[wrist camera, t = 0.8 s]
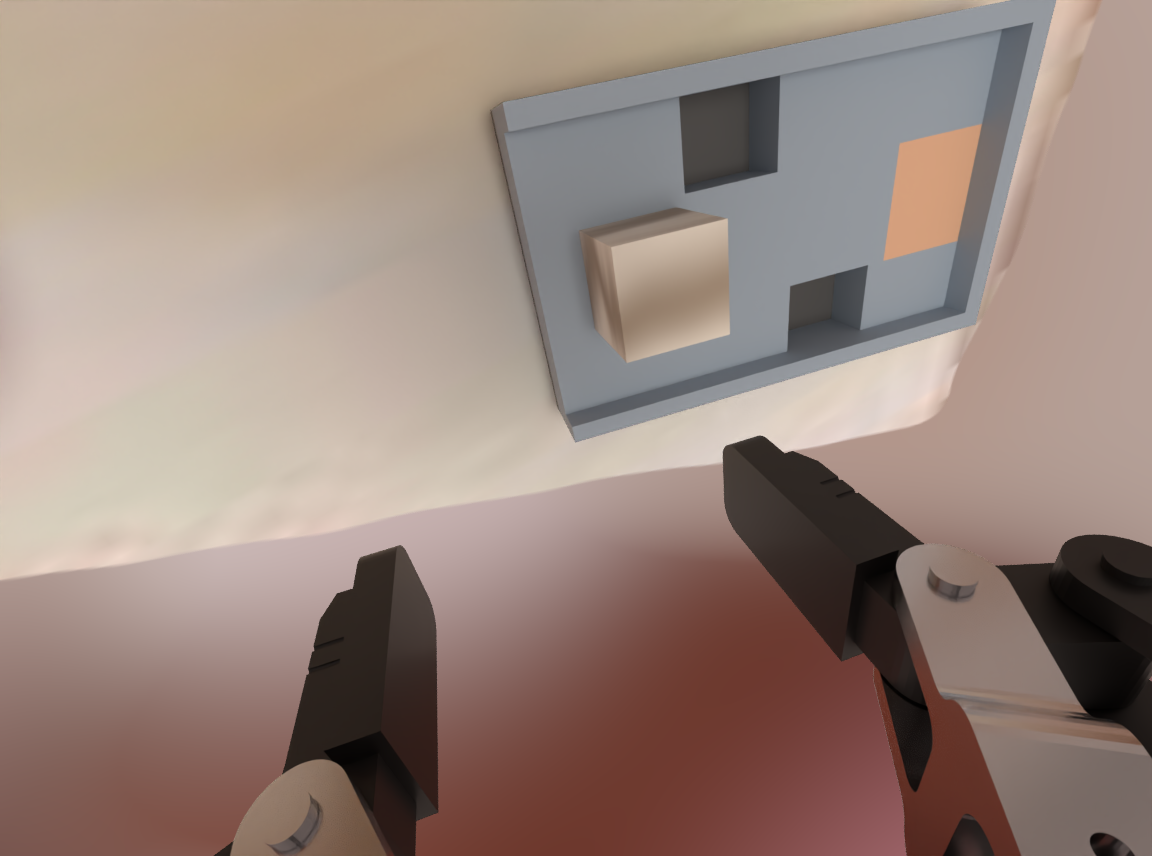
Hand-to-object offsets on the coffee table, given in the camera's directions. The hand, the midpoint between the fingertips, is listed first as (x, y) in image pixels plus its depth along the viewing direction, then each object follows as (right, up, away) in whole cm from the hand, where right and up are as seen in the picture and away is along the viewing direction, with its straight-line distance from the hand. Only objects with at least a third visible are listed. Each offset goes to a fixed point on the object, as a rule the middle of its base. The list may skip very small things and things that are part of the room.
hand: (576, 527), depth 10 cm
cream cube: (+3, +10, +15) cm, 19 cm away
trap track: (+10, +14, +19) cm, 25 cm away
